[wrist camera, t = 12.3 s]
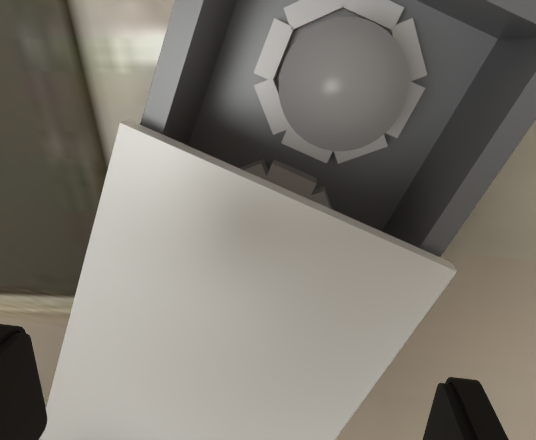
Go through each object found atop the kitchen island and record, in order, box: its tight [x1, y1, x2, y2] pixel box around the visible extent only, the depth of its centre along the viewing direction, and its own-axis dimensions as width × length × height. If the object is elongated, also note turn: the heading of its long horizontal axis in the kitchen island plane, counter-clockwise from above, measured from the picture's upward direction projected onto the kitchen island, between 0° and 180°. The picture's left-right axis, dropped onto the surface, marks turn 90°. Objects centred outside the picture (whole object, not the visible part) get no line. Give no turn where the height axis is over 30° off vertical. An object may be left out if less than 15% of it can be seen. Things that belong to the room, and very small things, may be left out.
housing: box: [140, 0, 536, 257], centre depth 20 cm, size 14×20×6 cm
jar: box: [279, 17, 409, 151], centre depth 18 cm, size 5×5×5 cm
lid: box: [39, 120, 457, 440], centre depth 20 cm, size 15×20×3 cm
